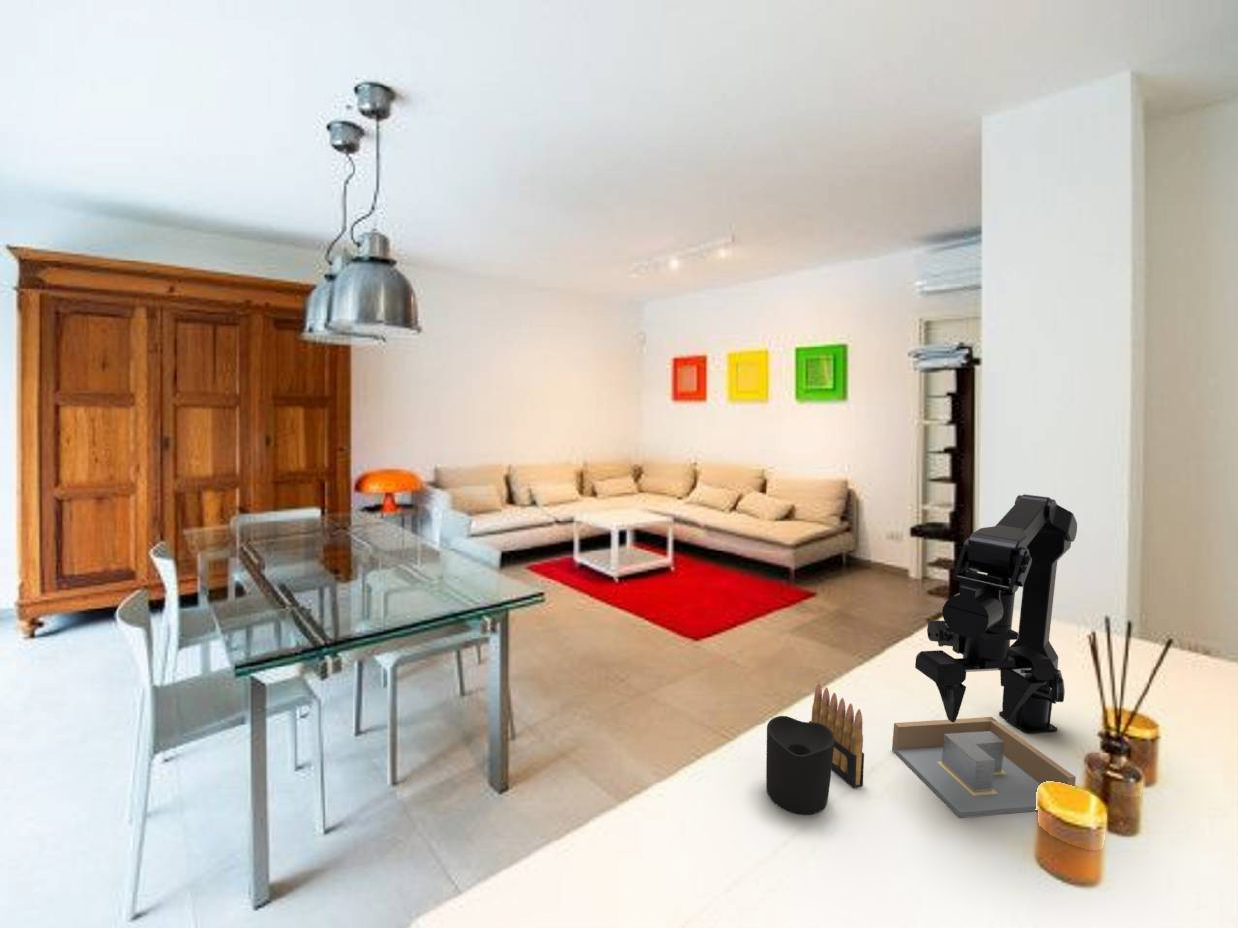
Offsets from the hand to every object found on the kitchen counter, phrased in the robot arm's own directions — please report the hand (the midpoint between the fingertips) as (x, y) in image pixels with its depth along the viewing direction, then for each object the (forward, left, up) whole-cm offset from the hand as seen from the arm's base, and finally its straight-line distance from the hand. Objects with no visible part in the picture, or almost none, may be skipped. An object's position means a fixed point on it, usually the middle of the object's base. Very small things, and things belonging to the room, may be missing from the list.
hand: (978, 718), depth 89 cm
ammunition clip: (+19, -7, -11) cm, 23 cm away
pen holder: (+28, -1, -11) cm, 30 cm away
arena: (-2, -2, -11) cm, 11 cm away
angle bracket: (-2, -1, -10) cm, 10 cm away
